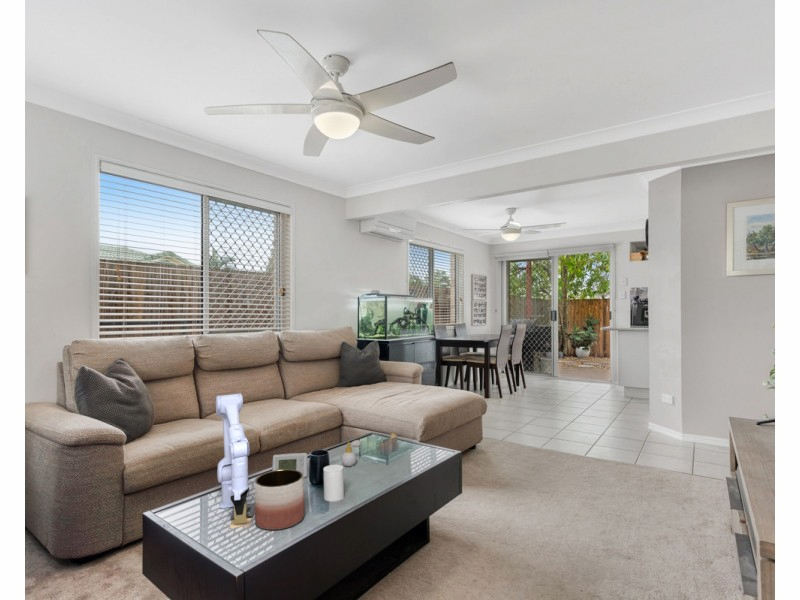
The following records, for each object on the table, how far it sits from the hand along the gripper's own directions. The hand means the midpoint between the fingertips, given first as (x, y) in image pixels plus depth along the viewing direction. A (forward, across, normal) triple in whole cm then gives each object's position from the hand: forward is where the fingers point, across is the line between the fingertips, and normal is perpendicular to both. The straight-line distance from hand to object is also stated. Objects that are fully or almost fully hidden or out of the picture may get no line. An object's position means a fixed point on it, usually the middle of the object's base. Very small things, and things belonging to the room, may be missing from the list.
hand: (240, 511), depth 162 cm
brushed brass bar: (+3, 0, 0) cm, 3 cm away
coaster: (+4, 0, 0) cm, 4 cm away
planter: (+5, +1, +14) cm, 15 cm away
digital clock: (+5, -41, +17) cm, 45 cm away
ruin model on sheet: (+5, -63, +68) cm, 93 cm away
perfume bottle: (+5, -50, +46) cm, 68 cm away
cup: (+5, -14, +35) cm, 38 cm away
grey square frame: (+4, -8, 0) cm, 9 cm away
